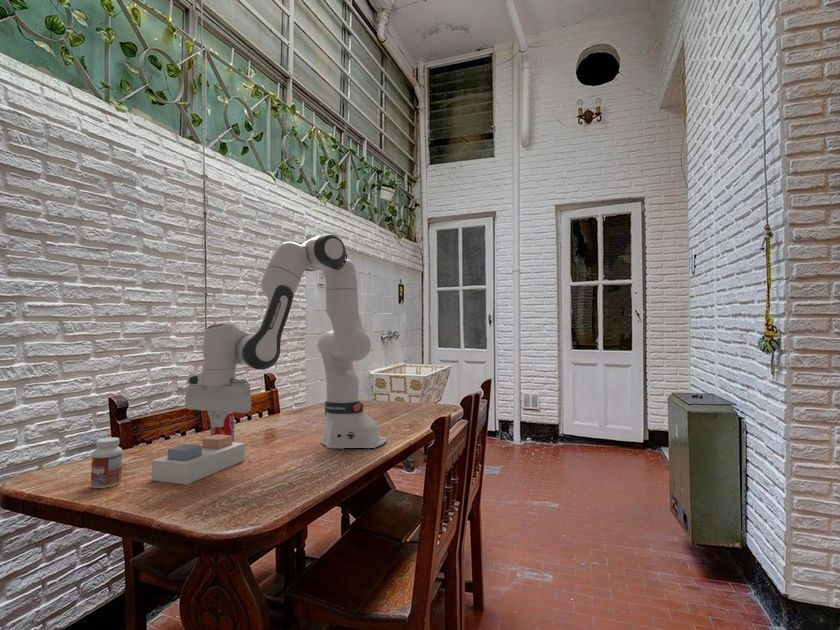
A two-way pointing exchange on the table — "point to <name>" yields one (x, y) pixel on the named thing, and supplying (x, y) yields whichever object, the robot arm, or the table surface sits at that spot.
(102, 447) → the pill bottle
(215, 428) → the soda can
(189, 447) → the slate key
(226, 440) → the terracotta key
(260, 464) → the table surface
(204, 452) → the key box
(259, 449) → the table surface
